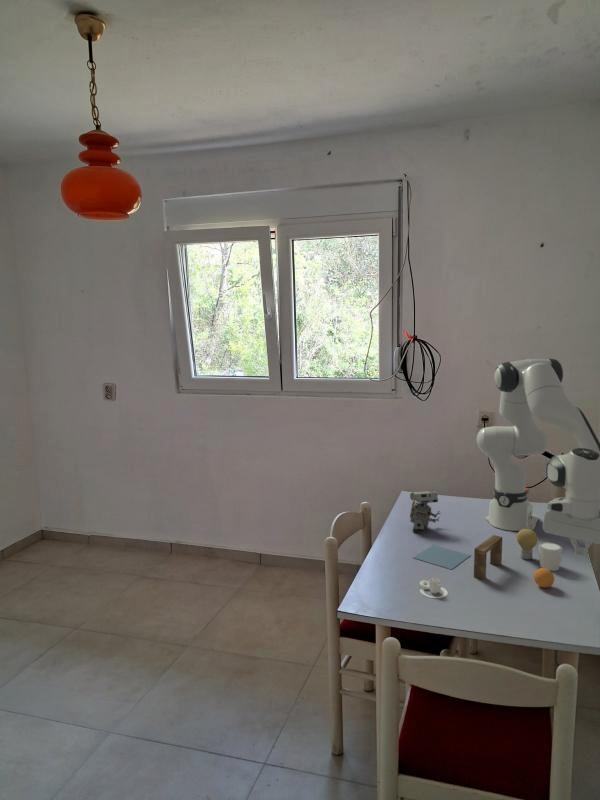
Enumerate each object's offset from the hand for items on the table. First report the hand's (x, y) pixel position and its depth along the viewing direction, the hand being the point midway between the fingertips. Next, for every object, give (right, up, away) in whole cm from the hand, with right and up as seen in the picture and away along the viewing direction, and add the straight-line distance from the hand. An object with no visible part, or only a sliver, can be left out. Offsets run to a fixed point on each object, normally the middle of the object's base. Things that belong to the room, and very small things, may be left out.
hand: (580, 554), depth 152 cm
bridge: (-19, -11, +19) cm, 30 cm away
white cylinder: (+1, -10, +21) cm, 24 cm away
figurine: (-31, -6, +55) cm, 64 cm away
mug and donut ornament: (-38, -13, +9) cm, 42 cm away
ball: (-7, -9, +8) cm, 14 cm away
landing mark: (-31, -10, +30) cm, 44 cm away
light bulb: (-4, -10, +28) cm, 30 cm away
